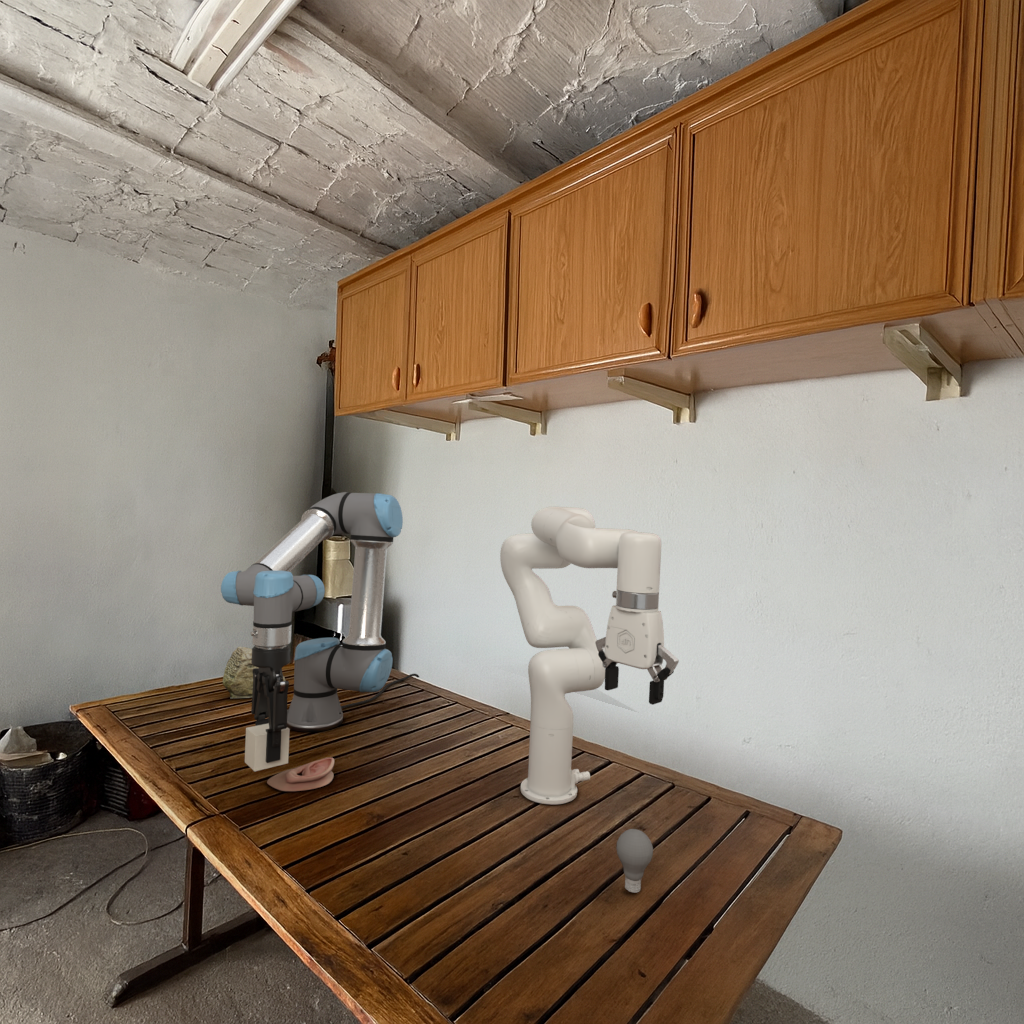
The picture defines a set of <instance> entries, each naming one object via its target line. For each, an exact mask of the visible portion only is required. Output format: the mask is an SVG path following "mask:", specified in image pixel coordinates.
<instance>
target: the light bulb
mask: <svg viewBox="0 0 1024 1024" xmlns="http://www.w3.org/2000/svg"><path fill="white" fill-rule="evenodd" d="M615 849H616V854H617V857H618V859H619V861H620V863H621V865H622V867H623V873H624V874H623V875H624V876H625V878H624V888H625V890H627V891H628V892H630V893H634V894H635V893H639V892H640V891H641V889H642V887H641V886H642V879H643V877H644V875H645V871H646V868H647V867H648V866H649V864H650V863H651V861H652V859H653V855H654V847H653V843H652V841H651V838H649V836H648V835H647V834H646V833H645V832H643V831H642V830H641V829H636V828H629V829H627V830H625V831H623V832H622V833H621V834H620V835H619V837H618V839H617V841H616V847H615Z"/></svg>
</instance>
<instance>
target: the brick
mask: <svg viewBox="0 0 1024 1024" xmlns="http://www.w3.org/2000/svg"><path fill="white" fill-rule="evenodd" d="M266 729H269V723H268V724H263V725H258V726H255V725H253V726H248V727H245V741H244V742H245V744H244V763H245V764H246V765H247V766H248V767H249V768H250V769H251V770H252V771H253V772H260V771H263V770H266V769H270V768H275V767H279V766H284V765H286V764H289V757H290V756H289V755H290V753H289V751H290V730H291V729H289V728H288V727H287V728H286V729H282V730H281V753H280V760H277V761H273V762H269V763H267V762H266V743H267V732H266Z"/></svg>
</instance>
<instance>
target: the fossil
mask: <svg viewBox="0 0 1024 1024" xmlns="http://www.w3.org/2000/svg"><path fill="white" fill-rule="evenodd" d="M251 661H252V648H251V647H247V646H246V647H245V646H238V647H237V648H236V649H235V650H233V651H232V653H231V656H230V657H229V659H228V660H227V663H226V666H225V668H224V671H223V675H222V676H223V677H222V685H223V687H224V688H225V690H226V691H228V693H229V698H230V699H250V698H251V699H252V691H253V669H255V668H259V667H255V666H253V665H252V663H251ZM283 681H287V680H286V678H285V676H284V675H283ZM273 692H274V691H273Z"/></svg>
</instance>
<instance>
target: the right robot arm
mask: <svg viewBox="0 0 1024 1024" xmlns="http://www.w3.org/2000/svg"><path fill="white" fill-rule="evenodd" d="M530 523H531V524H530V526H531V530H532V532H531V533H529V532H528V533H526V532H525V533H516V534H512V535H510V536H508V537H506V539H504V541H503V542H502V544H501V547H500V552H499V553H500V555H499V556H500V558H499V559H500V568H501V571H502V574H503V577H504V579H505V582H506V583H507V585H508V587H509V589H510V591H511V593H512V595H513V597H514V601H515V604H516V609H517V612H518V616H519V619H520V622H521V626H522V627H521V628H522V631H523V634H524V636H525V637H524V638H525V639H526V642H527V643H528V645H530V646H531V647H532V648H536V649H546V650H542V651H538V652H537V653H535V654H534V655H532V657H531V658H530V660H529V662H528V665H527V666H528V667H527V675H528V681H529V683H528V684H529V690H530V692H529V693H530V717H529V718H530V722H529V723H530V725H529V743H528V744H529V745H528V767H527V768H528V769H527V771H528V772H527V777H526V778H524V779H523V780H522V781H521V783H520V792H521V794H522V795H523V797H525V798H526V799H527V800H530V801H531V802H535V803H538V804H541V805H552V806H554V805H555V806H556V805H564V804H568V803H570V802H572V801H573V800H575V799H576V798H577V796H578V787H577V784H578V783H580V782H588V781H590V780H591V773H590V771H581V772H580V769H579V768H574V769H572V761H573V760H572V759H573V741H574V740H573V739H574V711H573V709H572V706H571V705H570V703H569V702H568V700H567V699H566V694H571V693H578V692H586V691H587V692H588V691H593V690H597V689H599V688H600V687H601V686H602V685H603V684H604V690H605V691H612V690H615V689H618V688H619V676H620V675H619V674H620V668H619V666H618V665H617V664H620V665H624V666H628V667H632V668H636V669H639V670H647V672H648V673H649V676H650V677H651V679H652V680H650V681H649V686H648V688H649V689H648V691H649V692H648V703H649V705H657V704H659V703H662V702H663V698H664V694H665V693H664V691H665V681H666V680H668V678H669V677H670V676H672V675H673V674H674V671H675V669H676V667H677V666H678V664H679V663H680V662H679V659H678V658H677V656H675V655H674V654H673V653H672V652H670V651H669V650H668V649H667V648H666V647H665V635H664V634H665V633H664V630H665V629H664V622H663V615H662V612H661V610H659V607H660V605H659V603H660V584H661V583H660V581H661V564H662V563H661V562H662V560H661V559H662V539H661V537H660V536H659V534H656V533H653V532H642V531H641V532H640V531H637V530H635V529H629V528H628V529H627V528H609V527H607V528H606V527H604V528H603V527H596V521H595V518H594V516H593V514H592V513H591V512H590V511H589V510H588V509H586V508H584V507H571V506H570V507H569V506H546V507H543V508H541V509H539V510H537V511H536V512H535V514H534V515H533V517H532V518H531V522H530ZM570 565H573V566H576V567H578V568H582V569H583V568H584V569H616V570H617V572H616V573H617V574H616V590H613V591H612V594H611V597H612V599H613V598H614V599H615V605H612V606H611V608H610V612H609V616H608V620H607V625H606V632H605V636H604V637H602V638H599V639H597V637H596V634H595V629H594V627H593V624H592V621H591V619H590V616H589V615H588V614H587V613H586V611H585V610H584V609H582V607H579V606H576V605H557V604H556V603H555V602H554V600H553V597H552V594H551V591H550V588H549V587H548V585H547V584H546V582H545V581H544V580H543V579H542V578H541V576H539V575H538V574H536V573H535V572H534V570H533V569H535V570H536V569H539V570H540V569H541V570H542V569H546V570H547V569H553V570H554V569H555V570H556V569H565V568H567V567H568V566H570ZM551 648H552V649H551ZM554 648H556V649H554ZM664 661H665V662H666V663H665V665H664V666H665V667H664V668H663V663H664Z"/></svg>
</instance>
